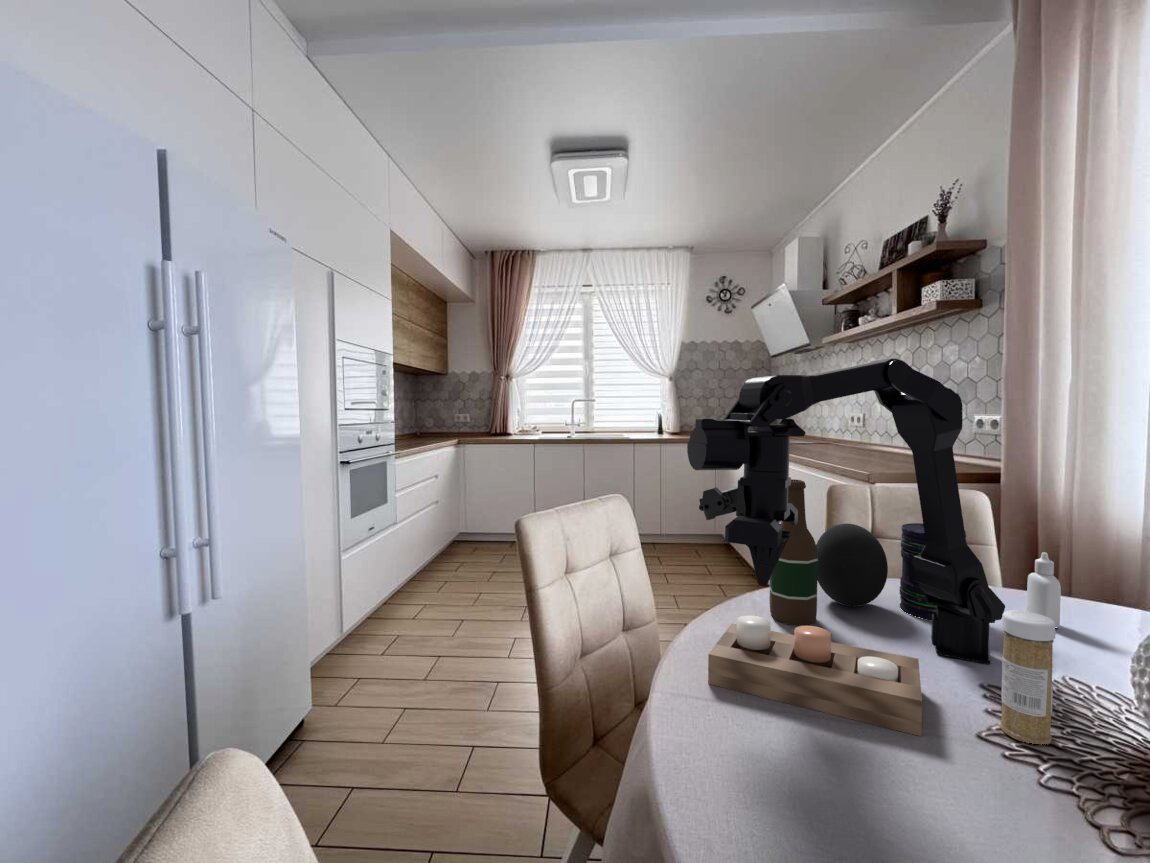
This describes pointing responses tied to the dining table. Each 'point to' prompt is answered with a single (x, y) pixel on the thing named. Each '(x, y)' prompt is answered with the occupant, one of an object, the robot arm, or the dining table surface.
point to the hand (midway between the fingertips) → (762, 585)
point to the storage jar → (913, 573)
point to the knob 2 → (878, 668)
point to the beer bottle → (795, 569)
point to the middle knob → (812, 643)
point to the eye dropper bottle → (1044, 590)
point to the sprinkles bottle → (1027, 676)
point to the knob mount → (821, 680)
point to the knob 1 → (753, 632)
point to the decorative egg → (851, 565)
